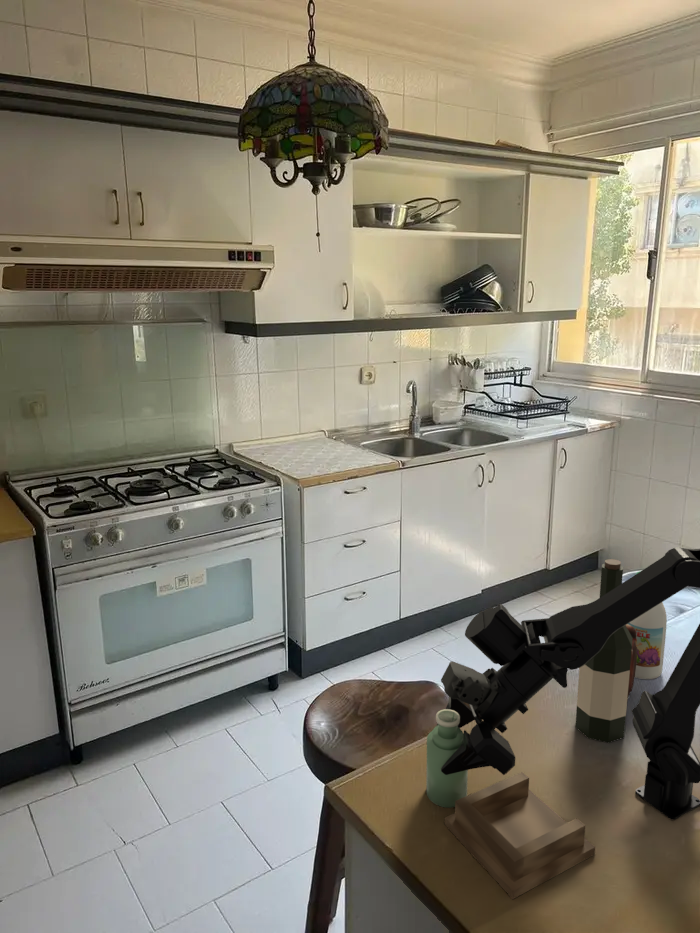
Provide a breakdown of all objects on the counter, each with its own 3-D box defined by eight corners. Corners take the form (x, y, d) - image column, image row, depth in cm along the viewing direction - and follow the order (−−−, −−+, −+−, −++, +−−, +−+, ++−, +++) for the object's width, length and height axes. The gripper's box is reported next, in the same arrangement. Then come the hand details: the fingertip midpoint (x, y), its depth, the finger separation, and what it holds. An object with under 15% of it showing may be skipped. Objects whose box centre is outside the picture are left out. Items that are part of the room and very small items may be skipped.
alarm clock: (608, 678, 131) (613, 606, 127) (635, 684, 129) (641, 611, 125) (598, 708, 122) (604, 631, 118) (627, 715, 119) (634, 637, 116)
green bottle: (450, 773, 106) (452, 699, 102) (475, 797, 100) (477, 720, 97) (418, 787, 103) (418, 712, 99) (442, 813, 98) (443, 734, 94)
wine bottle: (634, 742, 112) (649, 571, 105) (582, 742, 112) (595, 572, 105) (616, 712, 120) (629, 552, 113) (568, 712, 120) (578, 552, 113)
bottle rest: (521, 789, 102) (522, 765, 101) (594, 854, 90) (596, 827, 89) (444, 824, 95) (445, 799, 94) (512, 899, 83) (513, 870, 82)
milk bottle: (626, 656, 139) (634, 563, 134) (666, 668, 134) (676, 572, 129) (613, 672, 133) (621, 576, 128) (655, 685, 128) (664, 586, 123)
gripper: (462, 619, 105) (391, 686, 107) (494, 685, 87) (408, 765, 89) (510, 662, 108) (440, 728, 110) (551, 736, 89) (466, 813, 92)
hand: (437, 754), depth 100 cm, fingers open, 7 cm apart
